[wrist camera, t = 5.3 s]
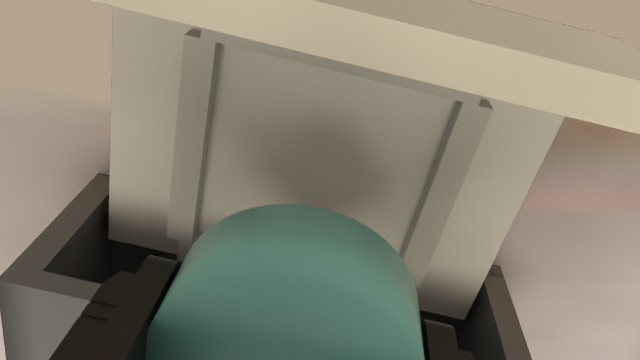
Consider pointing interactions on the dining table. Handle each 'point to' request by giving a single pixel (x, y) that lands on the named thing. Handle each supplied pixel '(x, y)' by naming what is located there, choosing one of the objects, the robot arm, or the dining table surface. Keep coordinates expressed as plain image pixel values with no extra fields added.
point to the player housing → (114, 256)
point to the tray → (351, 120)
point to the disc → (289, 292)
